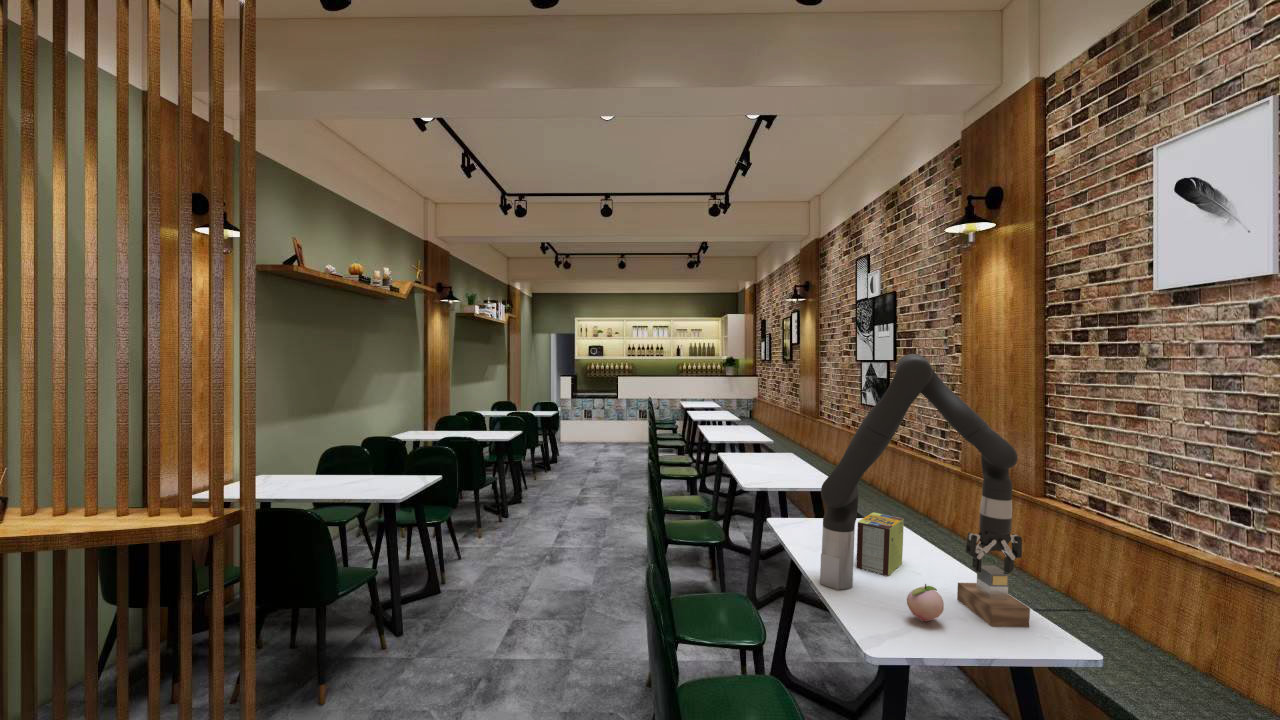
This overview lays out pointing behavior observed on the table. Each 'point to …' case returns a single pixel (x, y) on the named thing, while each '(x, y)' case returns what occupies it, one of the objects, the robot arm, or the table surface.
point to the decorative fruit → (925, 603)
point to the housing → (993, 582)
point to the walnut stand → (994, 607)
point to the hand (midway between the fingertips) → (992, 571)
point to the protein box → (880, 543)
